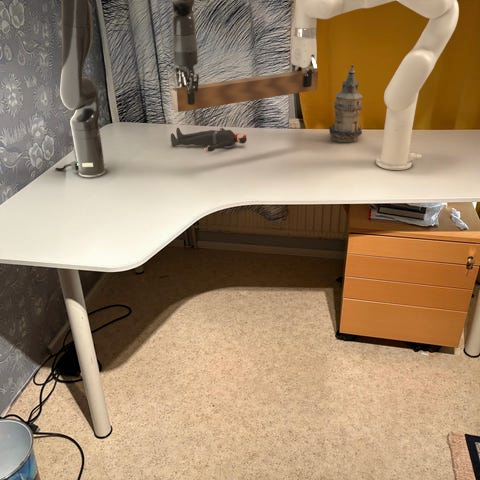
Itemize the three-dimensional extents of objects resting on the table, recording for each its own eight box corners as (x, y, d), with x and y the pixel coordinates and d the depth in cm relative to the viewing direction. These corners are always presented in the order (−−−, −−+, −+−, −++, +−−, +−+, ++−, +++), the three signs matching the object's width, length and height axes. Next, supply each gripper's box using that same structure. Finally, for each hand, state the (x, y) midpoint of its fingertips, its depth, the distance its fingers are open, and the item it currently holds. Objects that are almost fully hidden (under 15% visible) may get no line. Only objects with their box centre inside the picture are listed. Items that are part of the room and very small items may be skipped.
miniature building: (330, 144, 216) (335, 67, 201) (326, 133, 228) (331, 60, 213) (363, 144, 215) (371, 67, 200) (358, 133, 227) (365, 60, 212)
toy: (183, 121, 228) (252, 121, 222) (184, 135, 231) (252, 135, 225) (163, 141, 206) (239, 141, 200) (165, 156, 209) (240, 157, 203)
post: (309, 87, 202) (310, 69, 199) (317, 90, 199) (318, 71, 195) (172, 108, 179) (171, 88, 175) (178, 112, 175) (176, 91, 172)
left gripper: (165, 46, 173) (169, 99, 182) (183, 53, 162) (186, 109, 171) (186, 44, 177) (189, 96, 185) (205, 51, 166) (207, 106, 174)
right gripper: (283, 30, 193) (282, 82, 202) (310, 37, 180) (308, 91, 189) (300, 29, 196) (298, 79, 205) (328, 35, 183) (325, 88, 192)
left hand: (188, 102), depth 178 cm, fingers closed on post, 4 cm apart
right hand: (303, 84), depth 197 cm, fingers closed on post, 4 cm apart
